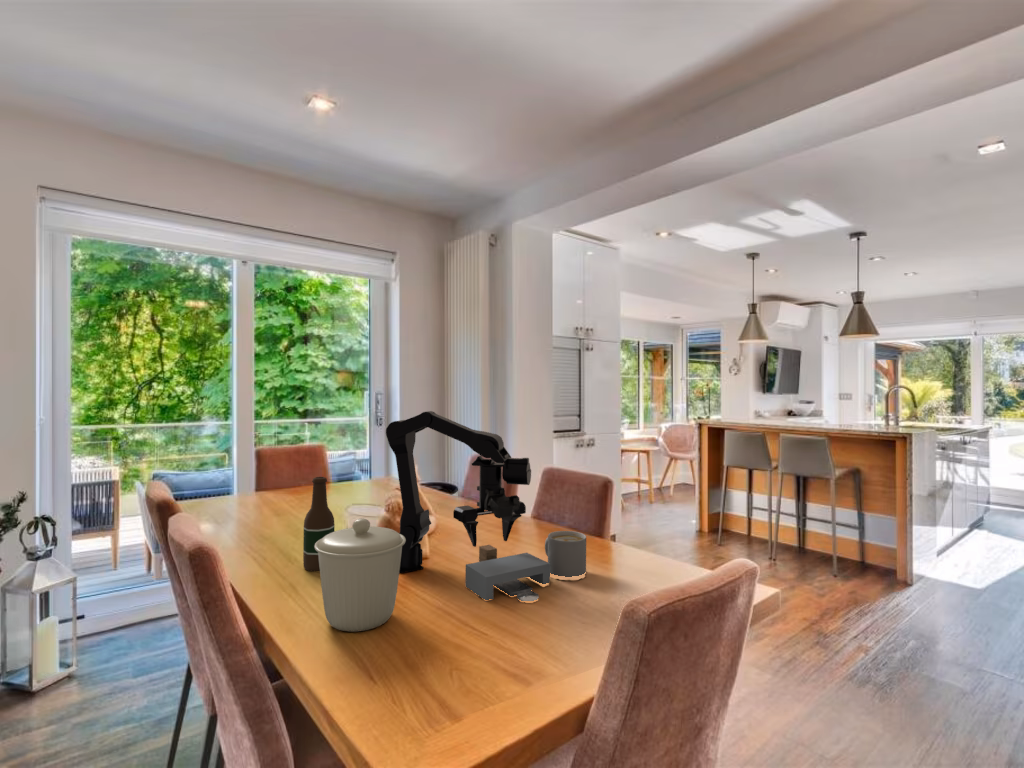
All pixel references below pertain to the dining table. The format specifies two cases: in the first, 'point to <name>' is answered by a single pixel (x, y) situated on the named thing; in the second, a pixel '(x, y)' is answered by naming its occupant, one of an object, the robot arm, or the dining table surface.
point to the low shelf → (504, 572)
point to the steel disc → (527, 596)
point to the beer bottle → (316, 524)
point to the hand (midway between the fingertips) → (490, 543)
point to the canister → (359, 575)
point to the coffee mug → (566, 553)
